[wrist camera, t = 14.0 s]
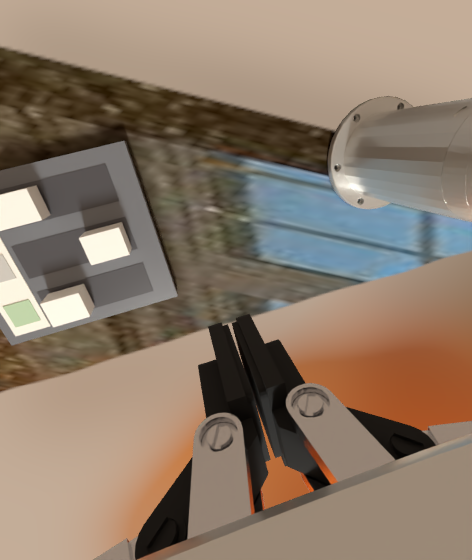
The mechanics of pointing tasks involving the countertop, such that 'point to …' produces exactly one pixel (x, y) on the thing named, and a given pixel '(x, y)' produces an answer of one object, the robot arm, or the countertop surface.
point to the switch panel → (67, 247)
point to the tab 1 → (21, 208)
